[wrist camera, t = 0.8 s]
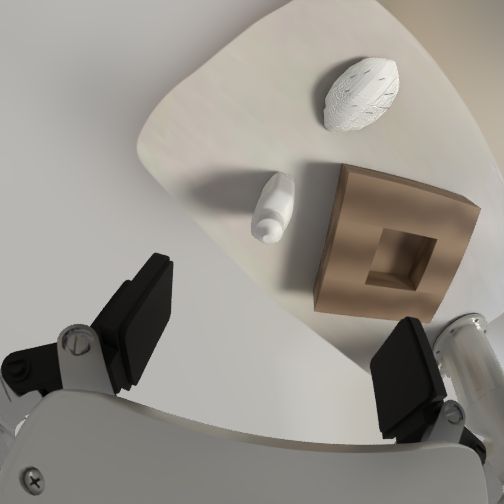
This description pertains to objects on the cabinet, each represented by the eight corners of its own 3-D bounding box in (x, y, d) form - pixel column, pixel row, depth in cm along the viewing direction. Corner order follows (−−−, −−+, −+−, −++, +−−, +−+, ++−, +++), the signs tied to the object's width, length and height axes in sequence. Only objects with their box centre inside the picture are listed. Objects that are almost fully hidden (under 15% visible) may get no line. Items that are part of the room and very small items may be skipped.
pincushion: (373, 44, 22) (388, 32, 17) (410, 82, 23) (431, 79, 18) (305, 109, 27) (308, 109, 23) (345, 146, 29) (355, 154, 24)
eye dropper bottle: (246, 192, 33) (223, 235, 23) (285, 166, 31) (280, 198, 20) (268, 220, 34) (255, 274, 24) (306, 196, 32) (311, 242, 22)
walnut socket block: (420, 304, 37) (429, 323, 33) (313, 290, 39) (314, 311, 35) (463, 196, 28) (480, 208, 24) (342, 163, 30) (349, 171, 26)
